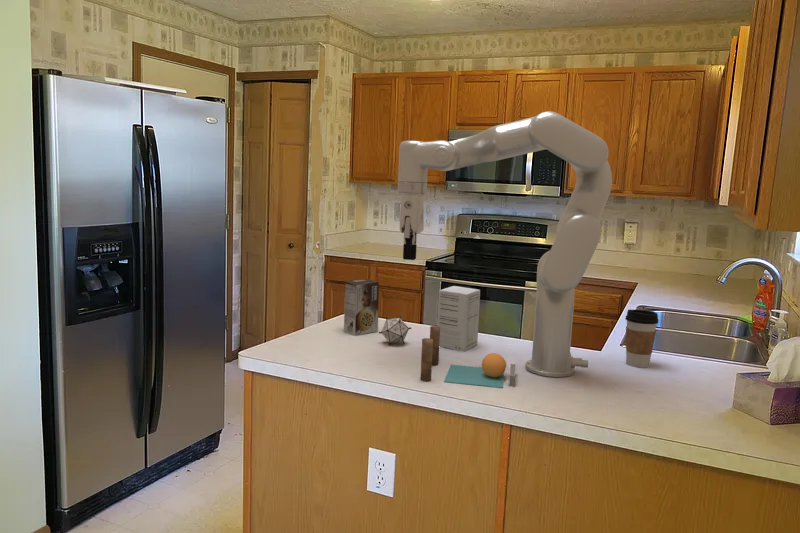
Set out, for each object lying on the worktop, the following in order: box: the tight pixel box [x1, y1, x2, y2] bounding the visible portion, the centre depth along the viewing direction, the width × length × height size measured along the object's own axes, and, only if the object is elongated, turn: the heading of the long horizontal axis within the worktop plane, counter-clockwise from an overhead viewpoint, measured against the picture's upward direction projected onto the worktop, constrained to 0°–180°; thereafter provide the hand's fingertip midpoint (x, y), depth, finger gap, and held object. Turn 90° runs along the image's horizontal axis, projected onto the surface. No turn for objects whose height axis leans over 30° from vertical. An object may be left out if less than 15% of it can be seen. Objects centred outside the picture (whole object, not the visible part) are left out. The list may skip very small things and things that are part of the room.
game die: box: [378, 315, 412, 346], centre depth 179 cm, size 9×8×10 cm
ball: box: [481, 352, 507, 378], centre depth 152 cm, size 6×6×6 cm
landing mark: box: [443, 364, 505, 389], centre depth 152 cm, size 14×14×1 cm
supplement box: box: [437, 285, 481, 352], centre depth 179 cm, size 10×9×17 cm
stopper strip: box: [508, 363, 516, 387], centre depth 151 cm, size 1×10×2 cm, turn 169°
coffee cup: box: [625, 309, 659, 369], centre depth 167 cm, size 8×8×15 cm
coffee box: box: [343, 278, 380, 336], centre depth 191 cm, size 9×6×16 cm
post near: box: [419, 337, 433, 382], centre depth 148 cm, size 3×3×10 cm
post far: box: [429, 325, 440, 367], centre depth 160 cm, size 3×3×10 cm
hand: (409, 259), depth 161 cm, fingers closed
